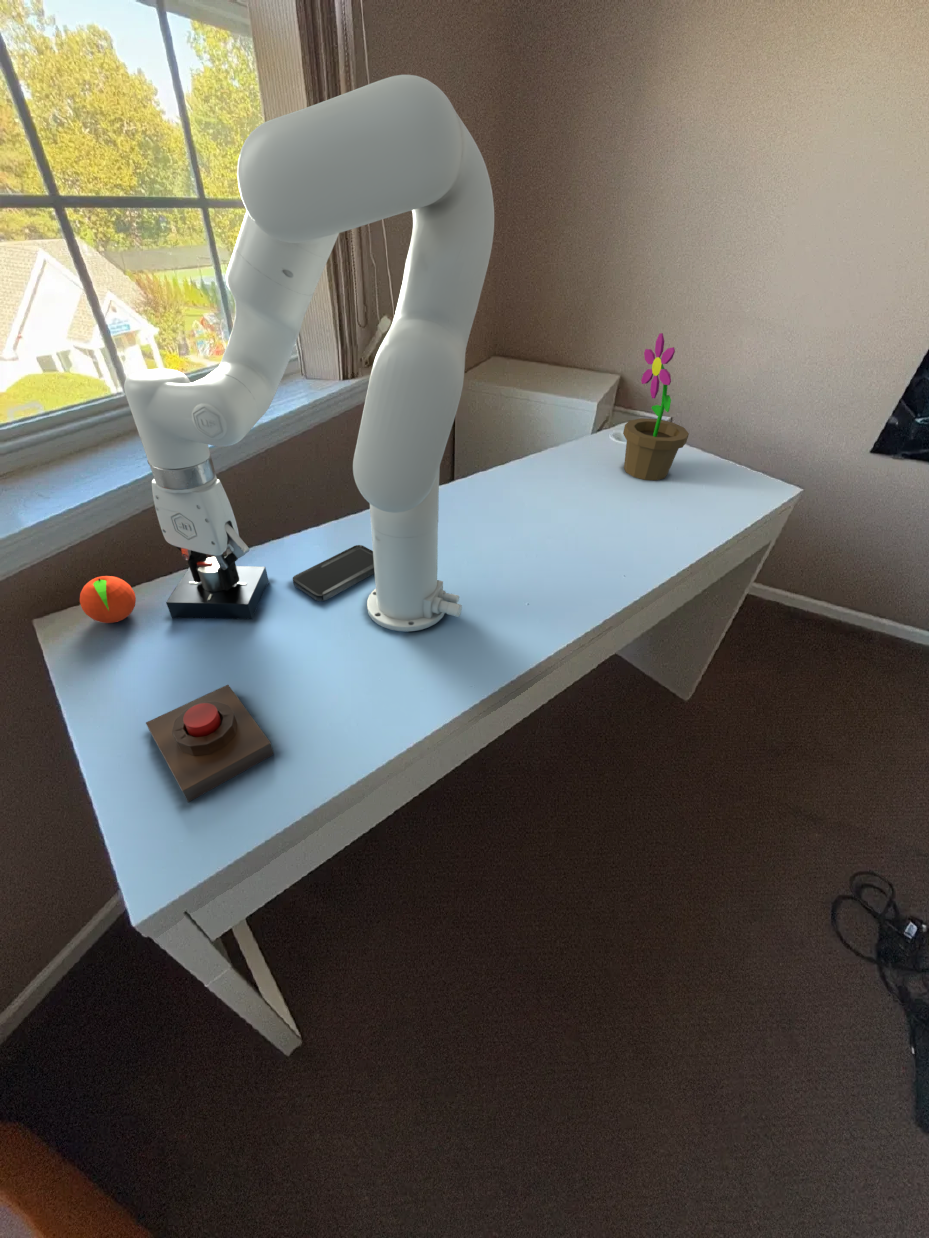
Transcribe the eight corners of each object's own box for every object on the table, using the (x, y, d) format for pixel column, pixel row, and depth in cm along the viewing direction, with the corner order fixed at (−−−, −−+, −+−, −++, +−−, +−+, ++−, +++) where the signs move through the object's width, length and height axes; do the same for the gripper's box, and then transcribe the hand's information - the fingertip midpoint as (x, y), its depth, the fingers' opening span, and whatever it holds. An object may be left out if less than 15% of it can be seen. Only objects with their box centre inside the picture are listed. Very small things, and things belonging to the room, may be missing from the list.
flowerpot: (605, 460, 136) (634, 326, 116) (657, 457, 139) (693, 326, 119) (632, 486, 125) (669, 343, 106) (687, 482, 128) (733, 342, 109)
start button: (226, 726, 63) (222, 716, 62) (194, 742, 61) (190, 732, 60) (213, 708, 65) (209, 698, 64) (182, 723, 63) (178, 713, 62)
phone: (388, 560, 95) (319, 597, 86) (389, 565, 96) (320, 603, 87) (358, 543, 99) (289, 577, 90) (359, 548, 100) (290, 583, 90)
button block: (274, 754, 64) (267, 732, 62) (188, 802, 59) (177, 781, 57) (232, 695, 71) (224, 674, 69) (151, 734, 66) (140, 712, 63)
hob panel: (268, 581, 91) (265, 565, 89) (252, 619, 83) (247, 603, 81) (195, 579, 90) (190, 563, 88) (171, 618, 83) (165, 601, 81)
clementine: (147, 627, 81) (130, 588, 76) (93, 642, 78) (73, 603, 73) (138, 598, 86) (122, 561, 81) (88, 612, 83) (69, 573, 78)
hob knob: (236, 575, 87) (231, 555, 84) (227, 592, 83) (221, 571, 81) (208, 574, 86) (202, 554, 84) (198, 591, 83) (191, 570, 81)
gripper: (111, 470, 72) (155, 582, 84) (218, 494, 68) (249, 608, 80) (153, 450, 78) (189, 558, 89) (255, 471, 74) (278, 580, 86)
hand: (217, 580), depth 85 cm, fingers closed on hob knob, 4 cm apart
